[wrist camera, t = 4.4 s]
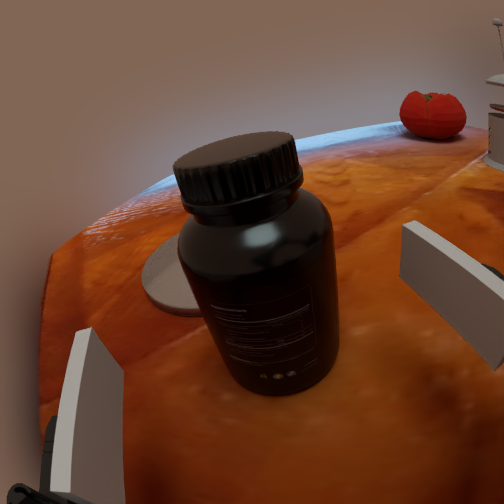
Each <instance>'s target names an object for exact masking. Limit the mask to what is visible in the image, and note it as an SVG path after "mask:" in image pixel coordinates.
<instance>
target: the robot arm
mask: <svg viewBox="0 0 504 504" xmlns="http://www.w3.org/2000/svg"><path fill="white" fill-rule="evenodd" d="M399 277H400V278H401V279H402V280H403V281H404V282H405V283H407V284H408V285H409V286H410V287H411V288H412V289H413V290H414V291H415V292H416V293H417V294H419V295H420V296H421V297H422V298H423V299H424V300H425V301H426V302H427V303H428V304H429V305H430V306H431V307H432V308H433V309H434V310H435V311H436V312H438V313H439V314H440V315H441V316H442V317H443V318H444V319H445V320H446V321H447V322H448V323H449V324H450V325H451V326H452V327H453V328H454V329H455V330H456V331H457V332H458V333H459V334H460V335H461V336H462V337H463V338H464V339H465V340H466V341H467V342H468V343H469V344H470V345H471V347H472V348H473V349H474V350H475V351H476V352H477V353H478V354H479V355H480V356H481V357H482V358H483V359H484V360H485V361H486V362H487V364H488V365H489V366H490V367H491V368H492V369H493V370H494V371H495V370H496V369H497V368H499V367H500V366H501V365H502V364H503V363H504V276H503V274H501V273H500V272H499V271H497V270H496V269H495V268H493V267H490V266H488V265H485V264H483V263H482V264H480V263H479V262H477V261H476V260H474V259H473V258H472V257H470V256H469V255H467V254H466V253H465V252H463V251H462V250H460V249H459V248H457V247H456V246H454V245H453V244H451V243H450V242H448V241H447V240H445V239H444V238H442V237H441V236H439V235H438V234H436V233H435V232H433V231H432V230H430V229H428V228H427V227H425V226H424V225H422V224H421V223H419V222H417V221H416V220H414V221H412V222H409V223H406V224H404V225H403V226H402V247H401V262H400V274H399ZM123 382H124V371H123V370H122V368H121V367H120V366H119V365H118V363H117V362H116V361H115V359H114V358H113V357H112V355H111V354H110V353H109V351H108V350H107V349H106V347H105V346H104V344H103V343H102V342H101V340H100V339H99V337H98V336H97V335H96V333H95V332H94V330H93V329H92V327H91V328H88V329H84V330H81V331H77V332H76V335H75V339H74V342H73V346H72V350H71V354H70V358H69V362H68V366H67V371H66V375H65V380H64V385H63V390H62V395H61V400H60V406H59V411H58V415H57V416H52V417H51V419H50V421H49V423H48V426H47V428H46V433H45V440H44V441H45V444H44V447H43V452H44V454H43V455H42V464H41V476H40V489H39V492H37V491H35V490H33V489H32V488H30V487H28V486H26V485H24V484H22V483H17V484H15V485H13V486H12V487H11V489H10V490H9V492H8V495H7V504H126V503H125V491H124V476H123V450H122V409H123Z"/></svg>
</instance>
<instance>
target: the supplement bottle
mask: <svg viewBox="0 0 504 504" xmlns="http://www.w3.org/2000/svg"><path fill="white" fill-rule="evenodd" d="M173 171H174V174H175V177H176V180H177V183H178V186H179V189H180V192H181V196H180V197H181V201H182V204H183V207H184V209H185V211H187V212H188V213H190V214H192V215H191V216H190V217H189V218H188V219H187V221H186V222H185V224H184V225H183V227H182V229H181V232H180V235H179V238H178V245H177V252H178V258H179V261H180V264H181V267H182V270H183V272H184V275H185V277H186V279H187V282H188V284H189V286H190V289H191V291H192V293H193V295H194V298H195V300H196V302H197V304H198V307H199V309H200V311H201V313H202V316H203V318H204V320H205V322H206V324H207V327H208V329H209V331H210V333H211V335H212V337H213V339H214V342H215V344H216V346H217V348H218V350H219V352H220V354H221V356H222V358H223V360H224V362H225V364H226V366H227V368H228V369H229V371H230V373H231V374H232V375H233V377H234V378H235V379H236V380H237V381H238V382H239V383H241V384H242V385H244V386H245V387H247V388H249V389H251V390H253V391H256V392H260V393H264V394H275V395H277V394H288V393H293V392H296V391H299V390H302V389H304V388H306V387H308V386H310V385H312V384H314V383H315V382H317V381H318V380H319V379H320V378H322V377H323V376H324V375H325V374H326V373H327V372H328V370H329V369H330V368H331V366H332V364H333V363H334V361H335V359H336V356H337V353H338V348H339V308H338V288H337V272H336V258H335V246H334V235H333V227H332V221H331V217H330V214H329V212H328V210H327V209H326V207H325V206H324V204H323V203H322V202H321V201H320V200H319V199H318V198H317V197H316V196H315V195H313V194H312V193H310V192H308V191H306V190H304V189H302V188H300V186H301V185H302V183H303V180H304V178H303V170H302V167H301V166H300V165H299V162H298V156H297V150H296V145H295V141H294V138H293V136H292V135H290V134H289V133H285V132H278V131H275V132H272V131H269V132H258V133H250V134H244V135H239V136H235V137H230V138H226V139H223V140H220V141H217V142H213V143H211V144H208V145H205V146H202V147H200V148H197V149H195V150H193V151H191V152H189V153H187V154H185V155H183V156H182V157H180V158H179V159H178V160H177V161H176V162H175V163H174V165H173Z"/></svg>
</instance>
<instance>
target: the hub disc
mask: <svg viewBox="0 0 504 504" xmlns="http://www.w3.org/2000/svg"><path fill="white" fill-rule="evenodd" d="M179 235H180V233H178V234H176V235H175V236H173V237H172V238H170V239H169V240H167V241H166V242H164V243H163V244H162V245H161V246H160V247H158V248H157V249H156V250H155V251H154V252H153V254H152V255H151V256H150V257H149V259H148V260H147V262H146V263H145V266H144V268H143V271H142V283H143V286H144V288H145V290H146V292H147V294H148V296H149V298H150V300H151V301H152V302H153V303H154V304H155V305H156V306H157V307H158V308H160V309H161V310H163V311H166V312H168V313H171V314H175V315H180V316H187V317H201V316H202V313H201V311H200V309H199V307H198V304H197V302H196V300H195V298H194V295H193V293H192V291H191V289H190V286H189V284H188V282H187V279H186V277H185V275H184V272H183V270H182V267H181V264H180V261H179V258H178V252H177V245H178V238H179Z"/></svg>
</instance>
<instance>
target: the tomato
mask: <svg viewBox="0 0 504 504" xmlns="http://www.w3.org/2000/svg"><path fill="white" fill-rule="evenodd" d="M399 115H400V119H401V122H402V123H403V125H404V126H405V127H406V128H407V129H408V130H409V131H411V132H413V133H414V134H416V135H418V136H420V137H424V138H434V139H439V140H442V139H446V138H448V137H451V136H453V135H455V134H457V133H459V132H460V131H462V129H463V128H464V126H465V124H466V118H467V117H466V112H465V110H464V108H463V107H462V104H461V103H460V102H459V101H458V99H456V97H454V96H452V95H450V94H446V95H443V94H438V93H429V94H427V95H426V94H425V95H423V94H421V93H419V92H418V91H414V92H411V93H409V94H408V95H407V97H406V98H405V99H404V101H403V103H402V105H401V108H400V114H399Z"/></svg>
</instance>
